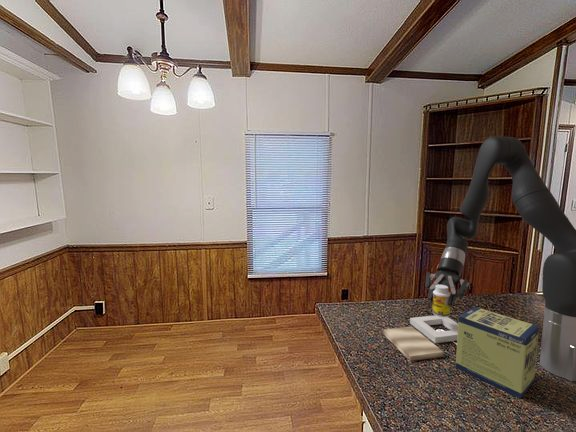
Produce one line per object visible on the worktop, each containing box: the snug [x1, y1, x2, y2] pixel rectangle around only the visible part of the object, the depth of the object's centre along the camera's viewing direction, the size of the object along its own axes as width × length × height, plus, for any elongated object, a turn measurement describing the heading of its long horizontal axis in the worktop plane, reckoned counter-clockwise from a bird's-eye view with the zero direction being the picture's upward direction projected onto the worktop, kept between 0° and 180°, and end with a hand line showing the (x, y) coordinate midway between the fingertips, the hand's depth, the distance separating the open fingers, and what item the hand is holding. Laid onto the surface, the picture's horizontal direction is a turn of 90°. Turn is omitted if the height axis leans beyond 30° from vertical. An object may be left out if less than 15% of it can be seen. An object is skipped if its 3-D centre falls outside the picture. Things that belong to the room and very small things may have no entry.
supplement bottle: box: [431, 285, 452, 318], centre depth 102 cm, size 6×6×10 cm
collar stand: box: [409, 314, 458, 344], centre depth 103 cm, size 14×14×2 cm
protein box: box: [454, 306, 540, 400], centre depth 79 cm, size 10×16×16 cm
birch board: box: [382, 325, 444, 362], centre depth 95 cm, size 16×11×2 cm
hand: (439, 302), depth 101 cm, fingers closed on supplement bottle, 5 cm apart
